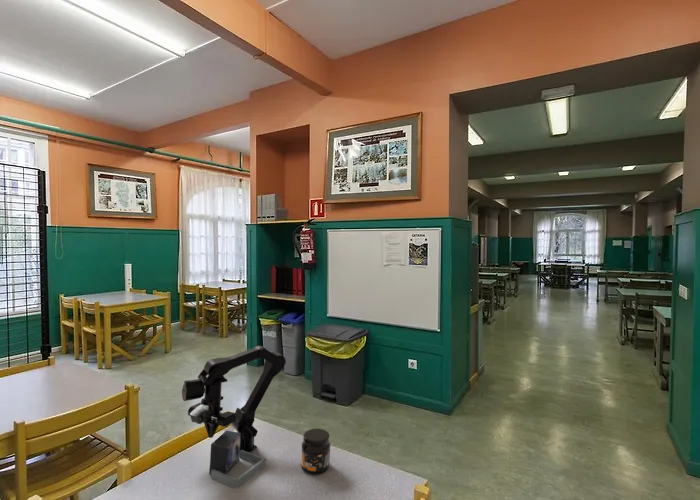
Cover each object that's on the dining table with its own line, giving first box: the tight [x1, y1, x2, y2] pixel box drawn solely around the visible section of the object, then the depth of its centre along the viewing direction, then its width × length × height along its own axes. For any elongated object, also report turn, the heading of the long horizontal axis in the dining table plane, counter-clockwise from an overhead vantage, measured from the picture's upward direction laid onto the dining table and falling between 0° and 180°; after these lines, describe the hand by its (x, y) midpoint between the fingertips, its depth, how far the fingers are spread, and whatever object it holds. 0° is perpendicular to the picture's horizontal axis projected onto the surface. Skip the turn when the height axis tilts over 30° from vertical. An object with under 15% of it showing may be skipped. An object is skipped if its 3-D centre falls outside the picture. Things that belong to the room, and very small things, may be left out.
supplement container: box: [300, 428, 331, 476], centre depth 131 cm, size 10×10×12 cm
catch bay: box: [210, 450, 267, 490], centre depth 127 cm, size 15×12×2 cm
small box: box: [208, 430, 241, 475], centre depth 129 cm, size 11×6×10 cm, turn 169°
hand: (210, 437), depth 133 cm, fingers closed
